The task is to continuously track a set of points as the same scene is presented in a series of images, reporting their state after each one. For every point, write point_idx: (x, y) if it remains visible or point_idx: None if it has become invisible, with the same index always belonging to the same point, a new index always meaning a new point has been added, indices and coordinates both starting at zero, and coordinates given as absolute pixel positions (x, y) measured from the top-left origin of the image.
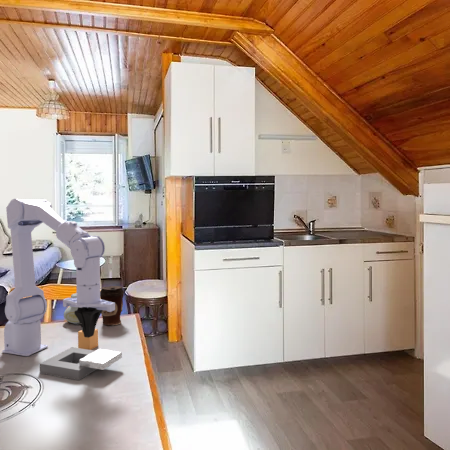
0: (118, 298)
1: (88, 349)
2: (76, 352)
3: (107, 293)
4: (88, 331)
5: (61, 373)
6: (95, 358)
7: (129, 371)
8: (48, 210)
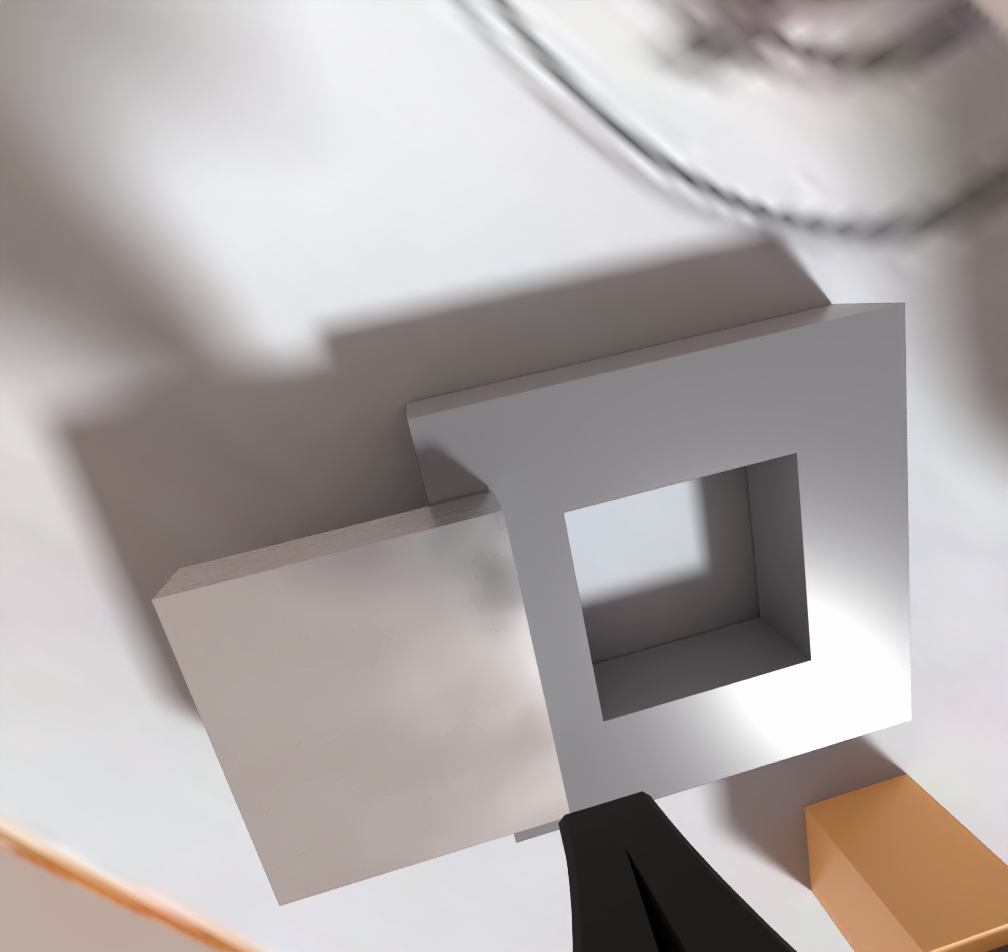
0: None
1: (819, 809)
2: (785, 674)
3: None
4: (574, 919)
5: (610, 360)
6: (375, 642)
7: (179, 767)
8: None
